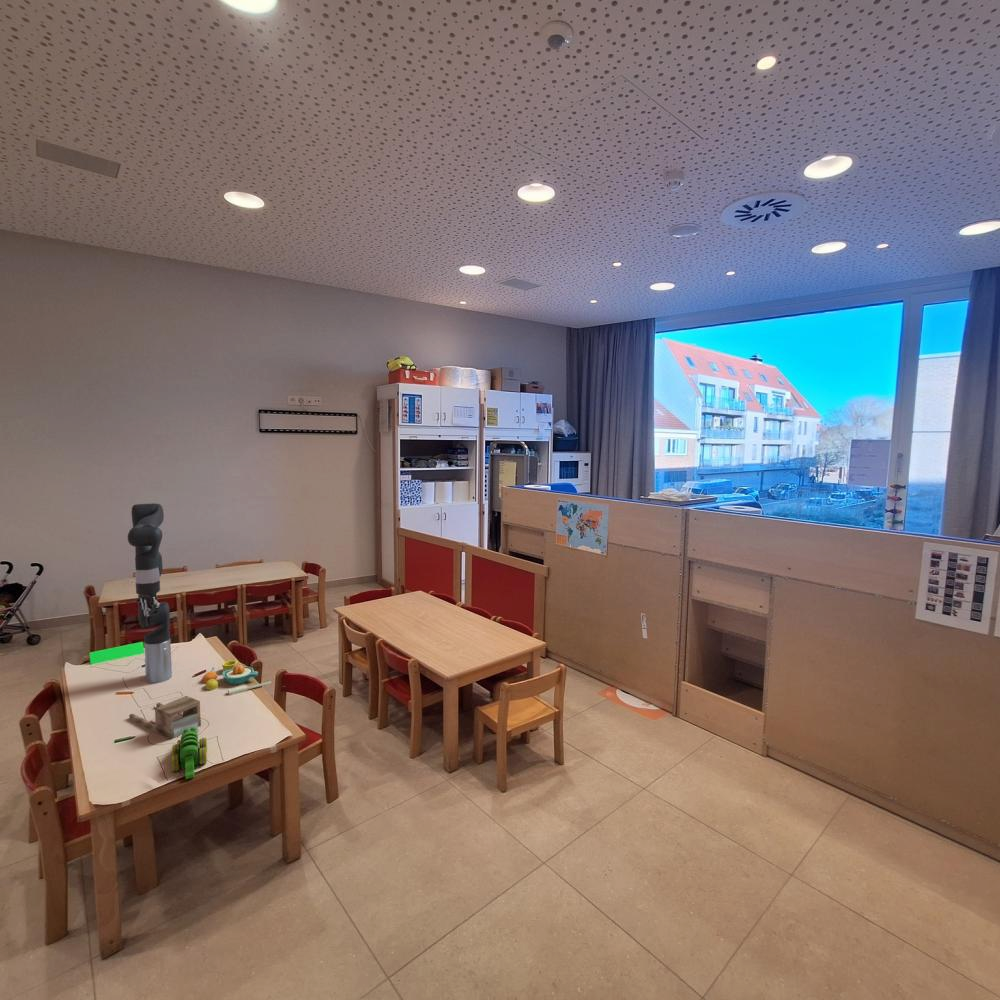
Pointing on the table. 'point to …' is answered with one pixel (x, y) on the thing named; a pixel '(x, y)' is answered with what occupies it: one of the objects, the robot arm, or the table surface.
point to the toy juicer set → (232, 677)
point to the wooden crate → (166, 714)
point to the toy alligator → (189, 752)
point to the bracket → (116, 653)
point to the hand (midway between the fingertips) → (150, 625)
